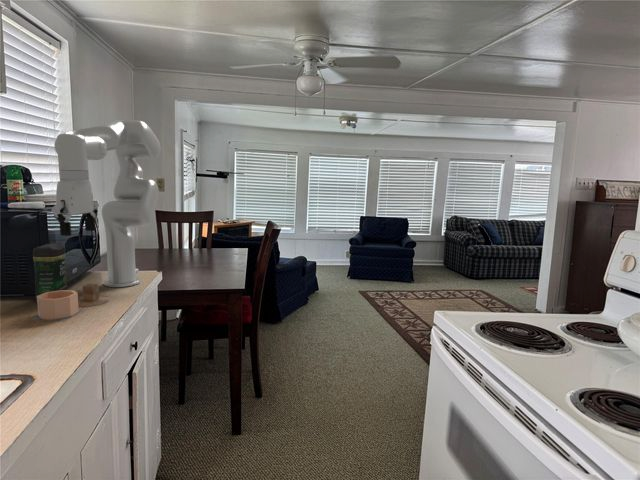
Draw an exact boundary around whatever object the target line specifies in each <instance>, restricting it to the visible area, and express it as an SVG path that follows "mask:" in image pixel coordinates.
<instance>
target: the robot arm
mask: <svg viewBox="0 0 640 480" xmlns="http://www.w3.org/2000/svg"><path fill="white" fill-rule="evenodd" d="M113 150H115V155H116V158H117V160H118V164H119V173H118V176H117V178H116V182H115V184H114V189H113V196H114V199H115V200H111V201H110V200H109V201H107V202H105V204H104V205H103V206H102V208H101V217H102V220H103V224H104V230H105V231H104V232H105V242H106V261H107V263H106V264H107V279H106V280H104V281H103V285H104V286H105V287H110V288H123V287H124V288H126V287H131V286H136V285H138V284H140V283H141V278H140V277H137V275H136V274H138V273H139V272H140V270H139V268H136V247H135V236H134V234H133V233H132V231H131V229H130V227H132V228H133V227H136V228H137V227H140V228H142V227H144V228H145V227H148V226H150V225H151V223H152V222H153V219H154V216H155V211H156V207H157V203H158V201H159V200H158V199H159V187H158V184H157V182H156V181H155V180H153V179H152V178H151V179H150V178H144V177H143V176H144V171H143V169H142V167H141V166H140V164H139V163H138V162H137V161H136V160H135V159H146V160H148V159H153V160H154V159H157V158H158V157H159V156H161V152H162V151H161V150H162V147H161V143H160V141H159V139H158V137H157V136H156V135H155V133H154V131H153V130H152V128H151V127H150V126H149V125H148V124H147V123H146V122H144V121H142V120H136V119H135V120H134V119H132V120H131V119H129V120H128V119H116V120H112V121H110V122H109V121H108V122H107V123H104V124H101V125H99V126H92V127H86V128H80V129H75V130H69V131H66V132H64V133H59V134H57V135H56V139H55V141H54V152H56V154H57V163H58V174H59V176H58V177H59V180H58V181H57V184H56V190H55V191H56V195H55V198H56V199H55V200H56V202H55V204H56V205H54V206H53V207H51V210H50V211H51V212H52V214H53V215H54V216H53V217H54V218H55V219H56V221H57V222H58V223H59V232H60V234H59V235H60V236H63V237H64V236H66V237H70V236H72V225H71V222H70V219H71V218H72V216H79V215H84V216H85V218H84V229H85V231H87V232H88V231H89V232H96V218H97V213H98V212H99V206H100V203H99V202H97V201H95V200H94V194H93V189H92V185H91V182H90V176H89V175H90V174H89V163H88V162H89V161H98V160H102V159H104V158H105V157H106V156H107V154H108V151H113Z"/></svg>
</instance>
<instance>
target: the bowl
mask: <svg viewBox="0 0 640 480" xmlns="http://www.w3.org/2000/svg"><path fill="white" fill-rule="evenodd" d="M78 298H79V294H78V291H76V290H72V289H71V290H69V289H68V290H59V291H52V292H46V293H43V294H41V295H38V296H37V301H36V302H37V316H39V318H40V319H42V320H59V319H65V318H69V317H72V316H74V315H76V314H77V313H78V312H79V308H80V307H78ZM77 315H78V314H77ZM77 315H76V316H77ZM74 317H75V316H74ZM72 318H73V317H72Z"/></svg>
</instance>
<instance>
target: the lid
mask: <svg viewBox="0 0 640 480" xmlns="http://www.w3.org/2000/svg"><path fill="white" fill-rule="evenodd" d="M110 301H111V297H110V296H108V295H105V294H103V295H102V294H100V293H99V283H87V284H84V285H82V296H81V297H78V307H79V308H88V307H95V306H102V305H104V304H107V303H109V302H110Z"/></svg>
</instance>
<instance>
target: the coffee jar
mask: <svg viewBox="0 0 640 480" xmlns="http://www.w3.org/2000/svg"><path fill="white" fill-rule="evenodd" d="M50 243H51V244H48V243H47V244H42V245H40V246H36V247H35V248H33V249H32V260H33V265H34V279H35V280H34V282H35V284H34V285H35V290H34V291H35V293H34V294H35V301H36V302H37V296H38V295H41V294H43V293H46V292H52V291H59V290H69V289H68V282H67V271H66V269H67V268H66V247H65V246H64V245H63V244H62V243H59V242H58V243H53V242H50Z"/></svg>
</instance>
